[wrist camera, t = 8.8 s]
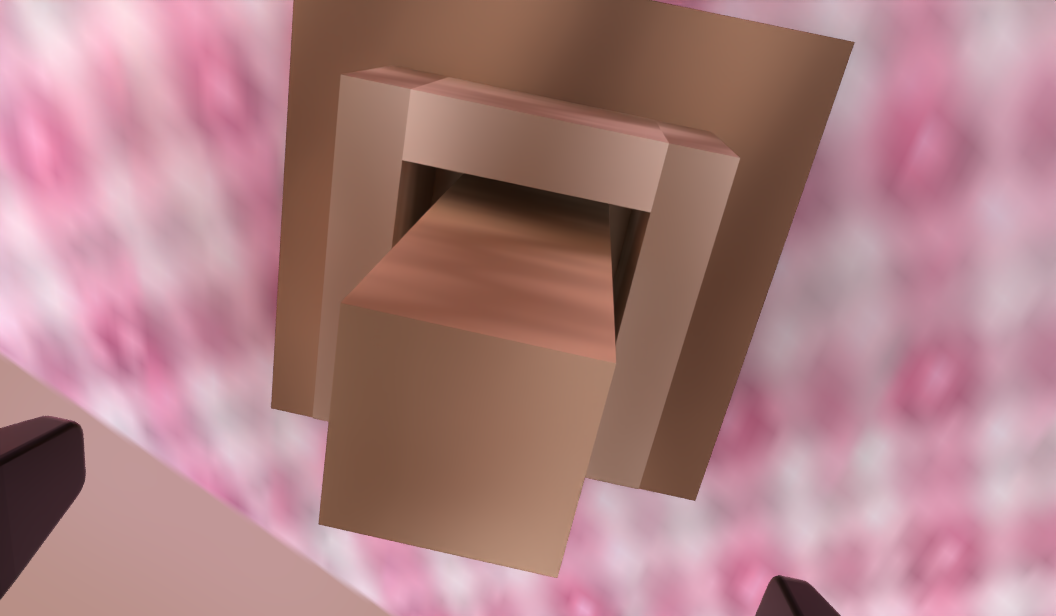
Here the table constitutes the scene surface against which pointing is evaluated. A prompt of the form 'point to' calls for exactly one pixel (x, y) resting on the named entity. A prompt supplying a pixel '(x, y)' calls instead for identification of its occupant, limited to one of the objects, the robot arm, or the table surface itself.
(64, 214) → the table surface
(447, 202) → the peg
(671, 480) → the well
